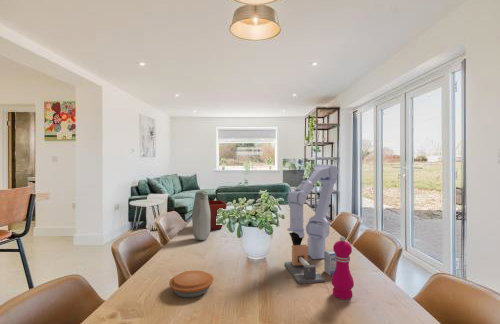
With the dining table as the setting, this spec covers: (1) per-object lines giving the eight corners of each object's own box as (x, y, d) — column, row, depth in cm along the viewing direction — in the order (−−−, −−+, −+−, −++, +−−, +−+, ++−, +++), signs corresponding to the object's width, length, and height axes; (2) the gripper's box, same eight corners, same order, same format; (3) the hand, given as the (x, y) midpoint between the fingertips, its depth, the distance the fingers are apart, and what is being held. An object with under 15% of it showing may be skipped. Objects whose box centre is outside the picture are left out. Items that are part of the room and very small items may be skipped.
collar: (291, 262, 119) (291, 245, 119) (305, 261, 120) (305, 244, 120) (294, 265, 116) (294, 247, 116) (307, 264, 117) (307, 246, 117)
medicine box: (329, 275, 111) (329, 254, 111) (323, 271, 115) (323, 250, 115) (347, 273, 113) (347, 252, 113) (340, 269, 117) (340, 248, 117)
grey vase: (209, 242, 156) (208, 191, 155) (190, 242, 156) (190, 191, 155) (211, 237, 165) (211, 189, 165) (194, 237, 166) (194, 189, 165)
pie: (169, 304, 90) (169, 289, 90) (169, 283, 105) (169, 270, 105) (217, 297, 95) (216, 282, 95) (210, 278, 110) (210, 265, 109)
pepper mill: (336, 288, 101) (336, 232, 100) (356, 294, 96) (356, 236, 96) (327, 295, 95) (327, 237, 95) (349, 302, 90) (349, 241, 90)
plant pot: (194, 225, 193) (193, 201, 193) (221, 223, 199) (221, 199, 199) (197, 232, 175) (197, 205, 175) (227, 230, 181) (227, 204, 180)
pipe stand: (284, 264, 123) (284, 251, 123) (306, 262, 124) (306, 250, 124) (298, 283, 104) (298, 268, 104) (324, 281, 106) (324, 267, 106)
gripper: (283, 215, 129) (283, 244, 129) (292, 222, 114) (292, 255, 115) (298, 214, 130) (298, 244, 130) (309, 222, 115) (309, 254, 116)
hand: (296, 249), depth 122 cm, fingers closed
